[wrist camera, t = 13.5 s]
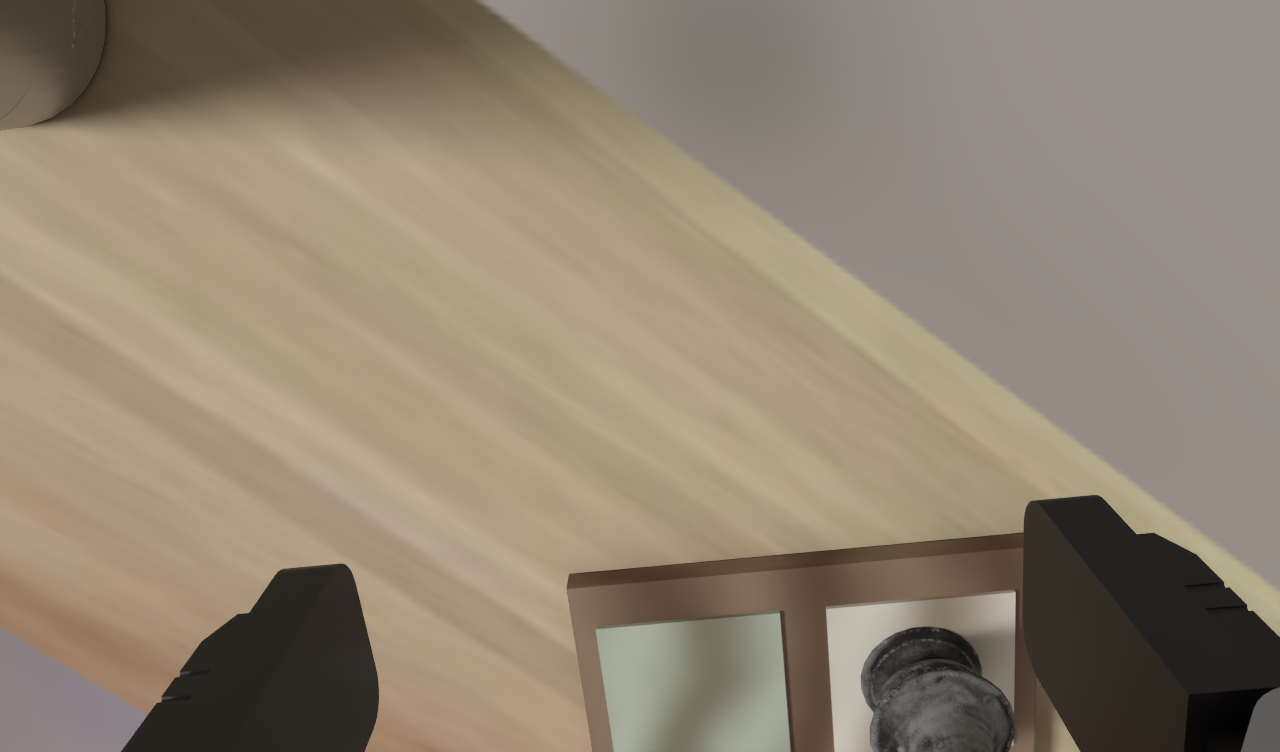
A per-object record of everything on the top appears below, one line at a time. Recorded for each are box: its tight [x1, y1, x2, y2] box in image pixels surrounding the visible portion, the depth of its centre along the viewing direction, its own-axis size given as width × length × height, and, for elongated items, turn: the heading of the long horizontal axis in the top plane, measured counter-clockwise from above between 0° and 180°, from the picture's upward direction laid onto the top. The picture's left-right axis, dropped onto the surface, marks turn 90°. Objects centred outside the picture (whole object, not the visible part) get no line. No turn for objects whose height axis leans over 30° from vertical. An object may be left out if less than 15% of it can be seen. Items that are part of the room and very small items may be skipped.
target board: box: [567, 533, 1036, 752], centre depth 45 cm, size 20×12×1 cm, turn 96°
